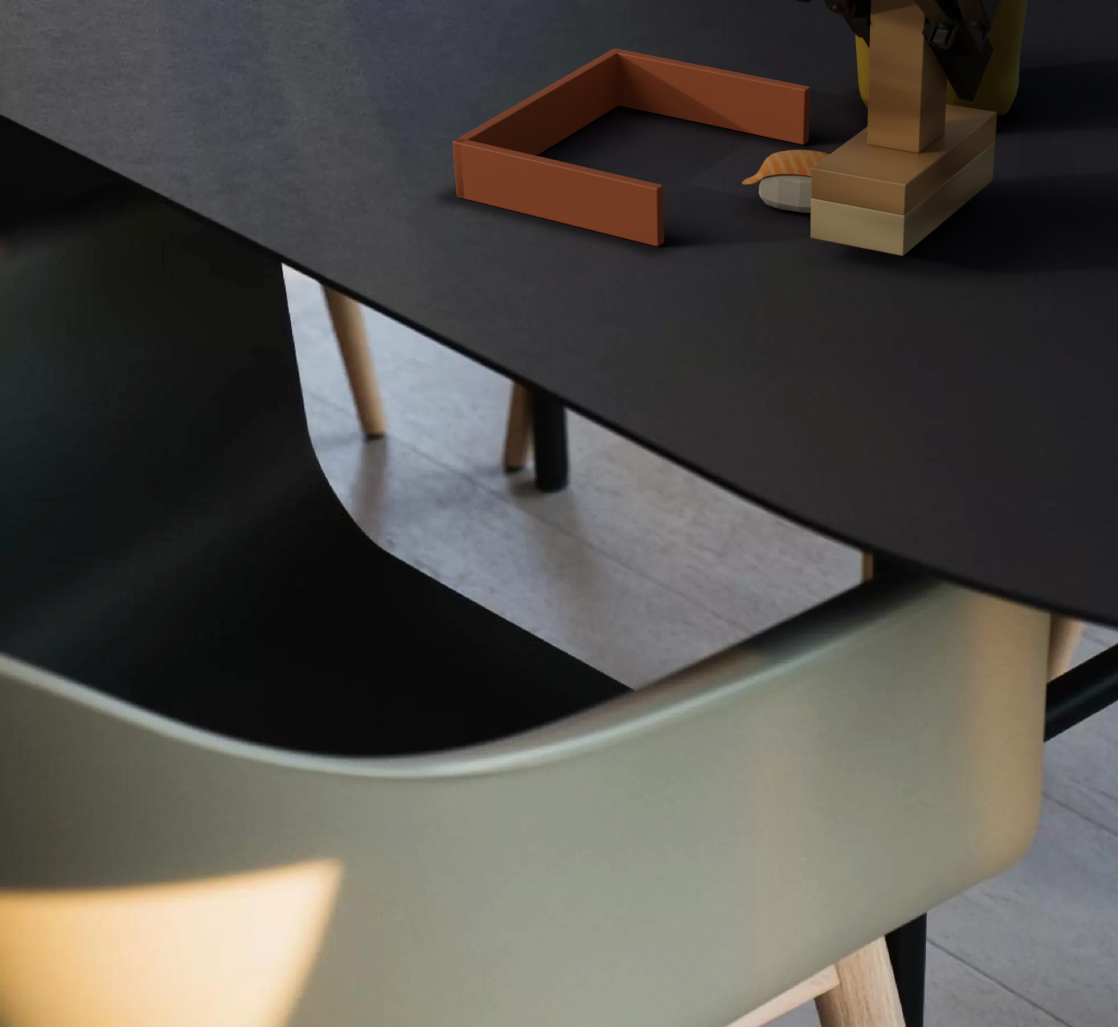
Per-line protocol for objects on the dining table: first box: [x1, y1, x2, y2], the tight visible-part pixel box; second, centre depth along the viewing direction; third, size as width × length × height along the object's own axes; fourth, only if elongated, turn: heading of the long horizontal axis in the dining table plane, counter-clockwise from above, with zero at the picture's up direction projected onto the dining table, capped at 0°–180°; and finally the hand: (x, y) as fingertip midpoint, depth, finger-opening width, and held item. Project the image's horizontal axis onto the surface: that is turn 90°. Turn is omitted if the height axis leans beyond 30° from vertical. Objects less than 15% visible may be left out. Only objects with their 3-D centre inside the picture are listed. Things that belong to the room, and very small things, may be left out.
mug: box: [854, 0, 1029, 117], centre depth 113 cm, size 12×10×10 cm
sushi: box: [741, 149, 831, 214], centre depth 104 cm, size 3×6×3 cm, turn 70°
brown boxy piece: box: [810, 0, 998, 257], centre depth 97 cm, size 10×5×16 cm, turn 146°
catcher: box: [452, 47, 811, 247], centre depth 109 cm, size 13×15×3 cm
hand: (941, 67), depth 100 cm, fingers closed on brown boxy piece, 3 cm apart
